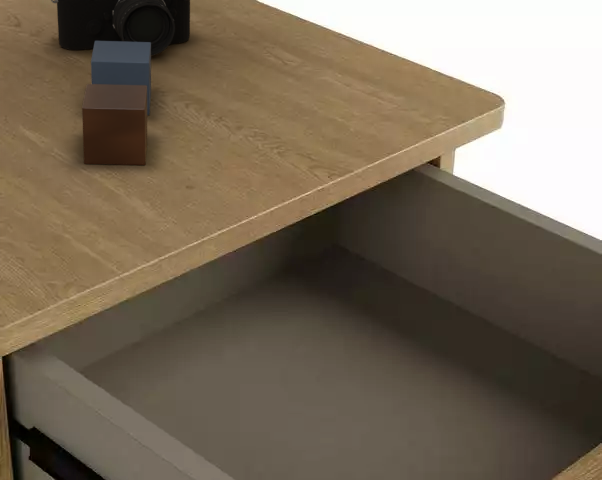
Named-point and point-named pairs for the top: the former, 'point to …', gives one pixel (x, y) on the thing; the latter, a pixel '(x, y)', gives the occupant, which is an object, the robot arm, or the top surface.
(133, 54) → the slate block
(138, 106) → the walnut block
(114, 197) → the top surface
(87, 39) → the camera
